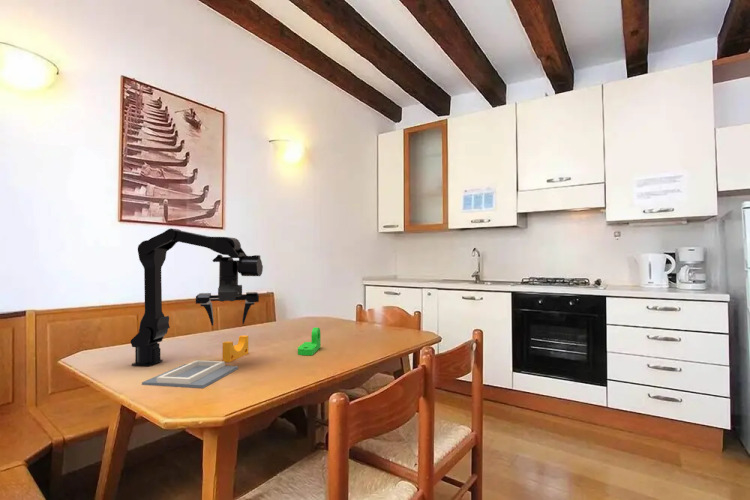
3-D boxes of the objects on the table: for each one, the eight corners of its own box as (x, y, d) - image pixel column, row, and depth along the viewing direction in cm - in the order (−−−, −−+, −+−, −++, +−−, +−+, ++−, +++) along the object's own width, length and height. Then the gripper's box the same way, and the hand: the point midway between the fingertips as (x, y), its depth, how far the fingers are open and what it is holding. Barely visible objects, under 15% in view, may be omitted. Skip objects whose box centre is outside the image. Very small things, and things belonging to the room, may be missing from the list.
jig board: (141, 385, 105) (142, 377, 105) (184, 366, 123) (184, 359, 123) (203, 388, 102) (203, 379, 102) (237, 368, 120) (237, 361, 120)
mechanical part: (305, 347, 149) (305, 326, 149) (320, 347, 149) (320, 326, 149) (295, 354, 137) (295, 332, 138) (312, 355, 137) (311, 332, 137)
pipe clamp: (237, 353, 140) (237, 335, 140) (248, 353, 140) (248, 335, 140) (217, 362, 129) (217, 342, 129) (229, 362, 128) (229, 342, 128)
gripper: (193, 277, 115) (192, 330, 115) (259, 277, 121) (258, 327, 120) (198, 275, 126) (197, 324, 125) (258, 275, 131) (258, 321, 131)
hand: (228, 324), depth 125 cm, fingers open, 9 cm apart
